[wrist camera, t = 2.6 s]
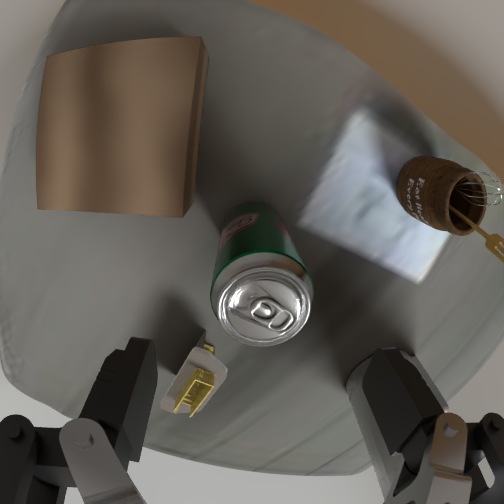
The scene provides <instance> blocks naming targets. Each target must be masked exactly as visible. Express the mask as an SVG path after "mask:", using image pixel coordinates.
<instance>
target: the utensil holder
mask: <svg viewBox="0 0 504 504" xmlns="http://www.w3.org/2000/svg"><path fill="white" fill-rule="evenodd" d="M478 173H480V174H485V173H492V172H478ZM493 174H495V173H493ZM486 175H488V174H486ZM488 176H490V175H488ZM496 176H497V175H496ZM490 177H491V176H490ZM497 177H498V176H497ZM491 178H492V177H491ZM492 179H493V178H492ZM498 179H499V177H498ZM493 180H494V179H493ZM494 182H496V183H497V182H500V180H499V181H495V180H494ZM501 183H502V182H501ZM502 184H503V183H502ZM485 185H486V184H484V183H483V181H482V179H481V178H480V176H479V175H478V174H477V173H475V172H473V171H471V170H470V169H467V168H464V167H462V166H461V165H459V164H457V163H455V162H453V161H450V160H446V159H441V158H435V157H428V156H420V157H416V158H413V159H411V160H410V161H409V162H407V163H406V164H405V166H404V167H403V168H402V170H401V172H400V174H399V177H398V182H397V193H398V198H399V201H400V203H401V205H402V207H403V208H404V210H405V211H406V212H407V213H408V214H410V215H411V216H412V217H414V218H416V219H417V220H419V221H421V222H423V223H425V224H427V225H429V226H430V227H432V228H435V229H437V230H441V231H448V232H449V233H452V234H455V235H460V236H464V235H468V234H470V233H472V232H473V231H474V230H476V231H477V232H478V233H480V234H481V235H482V236H483V237H484V238H486V244H485V246H486V248H487V249H488V250H490V251H491V252H492V253H493V254H494V255H495V256H496V257H498V258H499V259H500V260H501V261H502V262H503V263H504V257H503V256H502V255H501V254H500V253H499V252H498V251H497V250H496V248H497V249H499V250H500V251H501V252H502V253H503V254H504V248H503V247H502V246H501V245H500V244H503V245H504V239H503V238H502V237H501V236H499V235H498V234H493V235H488V234H487V233H486V232H485V231H483V230H482V229H481V228H480V227H478V226H479V225H480V223H481V221H482V219H483V217H484V214H485V211H486V205H487V197H489V196H487V194H492V193H486V188H485ZM497 185H498V184H497ZM487 186H490V185H487ZM491 187H493V186H491ZM498 187H499V186H498ZM500 187H501V185H500ZM493 188H495V187H493ZM502 188H503V186H502ZM502 188H501V189H502ZM496 189H498V188H496ZM501 189H500V188H499V189H498V190H499V191H498V192H499V194H496V193H497V192H496V193H494V194H495V195H498V197H499V195H501V199H502V195H503V194H500V193H501ZM502 192H503V191H502ZM503 193H504V192H503ZM494 194H492V195H494ZM492 195H490V196H492ZM497 199H498V198H497ZM497 199H496V201H497ZM496 201H495V202H496ZM495 202H494V203H495ZM500 202H501V200H500ZM500 202H499V203H500ZM494 203H493V204H490V205H488V206H491V205H497V204H494ZM499 203H498V204H499Z"/></svg>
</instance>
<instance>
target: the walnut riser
mask: <svg viewBox="0 0 504 504" xmlns="http://www.w3.org/2000/svg"><path fill="white" fill-rule="evenodd" d="M208 62H209V56H208V53H207V50H206V48H205V45H204V43H203V40H202V37H164V38H148V39H137V40H128V41H120V42H113V43H106V44H100V45H94V46H89V47H84V48H79V49H74V50H70V51H66V52H62V53H58V54H54V55H50V56H47V60H46V65H45V70H44V76H43V82H42V88H41V95H40V103H39V113H38V124H37V141H36V192H37V208H38V209H42V210H66V211H86V212H105V213H121V214H137V215H151V216H165V217H178V218H183V216H184V215H185V214H186V212H187V211H188V209H189V208H190V207H191V205H192V204H193V203H194V195H195V181H196V168H197V156H198V145H199V135H200V126H201V116H202V108H203V99H204V91H205V84H206V76H207V69H208Z"/></svg>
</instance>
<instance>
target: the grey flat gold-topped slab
mask: <svg viewBox="0 0 504 504" xmlns="http://www.w3.org/2000/svg"><path fill="white" fill-rule="evenodd" d="M205 337H206V330H205V331H204V332H203V334H202V336H201V337H200V339H199V341H198V342H197V344H196V346H195V347H194V348H193V349H192V350H191V352H190V354H189V355H188V357H187V359H186V360H185V362H184V364H183V365H182V367H181V369H180V371H179V372H178V374H177V376H176V377H175V379H174V381H173V382H172V384H171V386H170V387H169V389H168V391H167V393H166V394H165V396H164V398H163V399H162V401H161V404H160V408H161V409H163V410H166V411H168V412H171V413H190V417H191V416H192V415H193V414H194V412H200V411H201V410H202V408H203V407H204V406H205V405H206V403H207V402H208V401H209V400H210V398H211V397H212V396H213V394H214V393H215V392H216V391H217V389H218V388H219V387H220V385H221V384H222V383H223V382H224V380H225V379H226V377H227V368H226V367H225V366H224V365H223V364H222V363H221V362H220V361H219V360H218V359H217V358H216V357H215V356H214V354H215V347H213V346H210V345H208V344H206V343H205ZM205 348H207V349H209V350H207V349H205ZM212 350H213V352H212ZM198 371H199V372H198ZM198 376H199V377H198ZM200 377H201V378H200ZM200 382H201V383H200ZM193 384H194V385H193ZM197 386H199V387H197ZM190 388H192V389H194V390H192V389H190ZM195 390H197V391H195ZM188 392H189V393H192V394H189V393H188ZM193 394H195V395H193ZM185 396H187V397H189V398H187V397H185ZM192 399H194V400H192Z"/></svg>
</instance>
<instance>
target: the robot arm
mask: <svg viewBox="0 0 504 504" xmlns="http://www.w3.org/2000/svg"><path fill="white" fill-rule="evenodd" d="M157 378H158V372H157V364H156V356H155V348H154V342H153V340H151V339H143V338H136V337H131V338H130V340H129V342H128V344H127V346H126V349H125V351H124V350H118V349H116V350H115V351H113V352H112V353H111V354H110V355H109V356H108V357H106V359H105V361H104V363H103V365H102V367H101V371H99V373H98V376H97V378H96V381H95V382H94V384H93V386H92V389H91V391H90V393H89V395H88V398H87V400H86V402H85V405H84V407H83V409H82V412H81V414H80V416H79V417H78V418H77V419H73V420H71V421H69V422H67V423H66V424H65V425H64V426H63V427H62V428H44V427H34V426H33V424H32V423H31V422H30V420H29V419H27V418H26V417H24V416H22V415H10V416H7V417H6V418H4V419H3V420H2V421H1V422H0V504H64V499H65V494H66V490H67V487H77V488H78V490H79V492H80V494H81V496H82V499H83V501H84V504H147V503H146V502H145V500H144V499H143V498H142V496H141V494H140V493H139V491H138V490H137V488H136V486H135V485H134V483H133V482H132V480H131V478H130V477H129V475H128V473H127V468H128V463H129V460H130V461H134V462H139V460H140V455H141V451H142V446H143V441H144V437H145V432H146V428H147V424H148V419H149V415H150V411H151V407H152V403H153V399H154V395H155V391H156V387H157ZM346 390H347V393H348V396H349V400H350V403H351V404H352V407H353V410H354V412H355V416H356V418H357V421H358V424H359V427H360V429H361V432H362V435H363V438H364V441H365V443H366V446H367V449H368V452H369V455H370V458H371V461H372V464H373V466H374V469H375V472H376V475H377V478H378V481H379V484H380V487H381V490H382V493H383V496H384V500H385V502H384V503H383V504H504V419H503V418H502V417H501V416H500V415H498V414H496V413H488V414H486V415H485V416H484V417H483V418H482V420H481V421H480V422H479V423H465V421H464V420H463V419H462V418H461V417H460V416H458V415H456V414H454V413H446V412H447V411H448V408H449V407H448V404H447V403H446V401H445V399H444V398H443V396H442V395H441V393H440V392H439V390H438V388H437V387H436V385H435V384H434V382H433V381H432V379H431V378H430V376H429V375H428V373H427V372H426V370H425V369H424V367H423V366H422V364H421V363H420V361H419V360H418V358H417V357H416V356H410V355H409V354H408V353H407V352H405V351H403V350H399V349H398V348H396V347H390V348H378V349H377V350H376V351H375V353H374V355H373V356H371V357H369V358H368V359H366V360H365V361H364V362H362V363H361V364H360V365H359V366H358V367H356V368H355V370H354V371H353V372H352V373H351V375H350V376H349V378H348V380H347V384H346ZM484 457H486V459H487V461H488V463H489V465H490V467H491V469H492V472H493V474H494V476H495V481H494V484H493V486H492V487H491V488H489V487H488V486H487V484H486V482H485V480H484V478H483V475H482V473H481V470H480V468H479V466H478V463H479V462H480V461H481V460H482V459H483V458H484Z"/></svg>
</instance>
